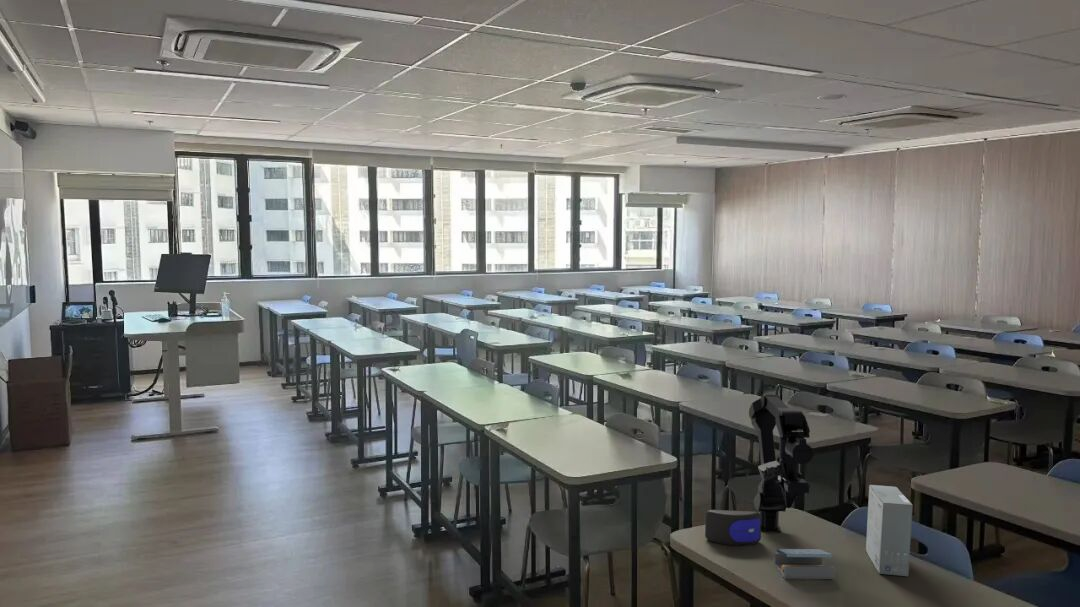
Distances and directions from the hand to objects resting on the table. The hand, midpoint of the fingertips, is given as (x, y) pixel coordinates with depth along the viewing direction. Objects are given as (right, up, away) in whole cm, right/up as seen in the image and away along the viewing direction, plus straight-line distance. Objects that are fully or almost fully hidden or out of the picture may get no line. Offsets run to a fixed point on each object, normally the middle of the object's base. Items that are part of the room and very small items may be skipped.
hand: (788, 507), depth 205 cm
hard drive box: (+25, -14, -6) cm, 30 cm away
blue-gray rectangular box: (0, -9, -12) cm, 16 cm away
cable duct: (0, -14, -12) cm, 19 cm away
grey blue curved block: (-14, -13, +8) cm, 20 cm away
